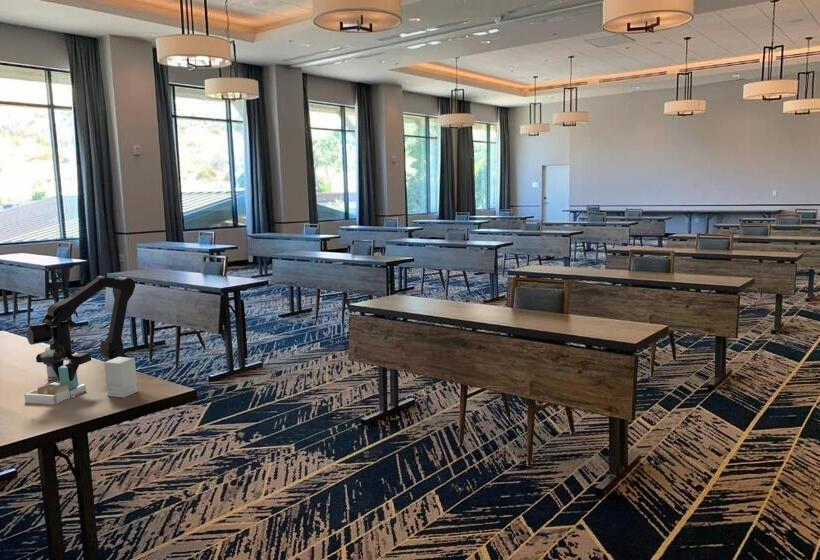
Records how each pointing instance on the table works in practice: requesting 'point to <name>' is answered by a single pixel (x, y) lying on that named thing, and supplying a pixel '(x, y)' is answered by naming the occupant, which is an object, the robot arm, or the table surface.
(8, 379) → the table surface
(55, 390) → the beige cube
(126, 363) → the supplement box
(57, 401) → the tray
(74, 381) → the teal boot-shaped block
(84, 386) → the slot rails
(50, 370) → the energy drink
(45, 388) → the tan cube
